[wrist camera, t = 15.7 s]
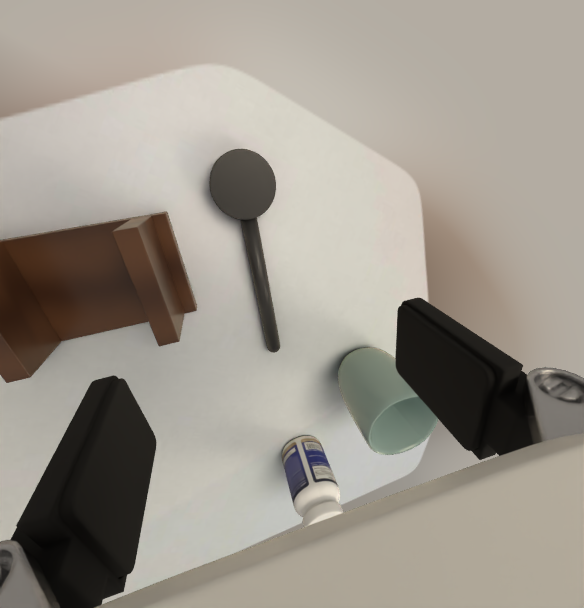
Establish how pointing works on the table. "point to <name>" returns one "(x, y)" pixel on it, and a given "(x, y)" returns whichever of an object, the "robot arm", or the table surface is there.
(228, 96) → the table surface
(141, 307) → the rack
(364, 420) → the cup
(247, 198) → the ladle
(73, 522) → the robot arm
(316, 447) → the pill bottle
